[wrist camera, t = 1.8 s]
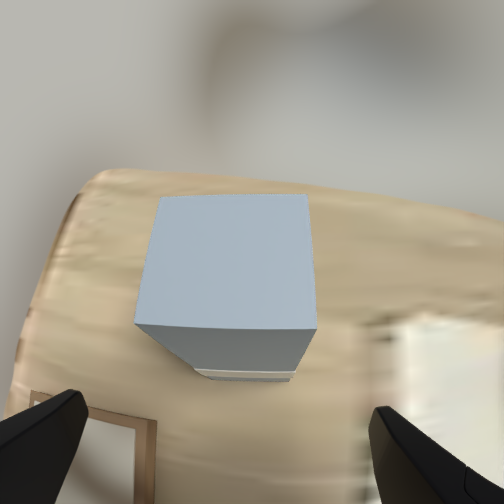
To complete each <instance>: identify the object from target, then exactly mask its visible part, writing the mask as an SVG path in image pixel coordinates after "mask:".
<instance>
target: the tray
mask: <svg viewBox="0 0 504 504" xmlns="http://www.w3.org/2000/svg"><path fill="white" fill-rule="evenodd" d="M52 397H54V396H51V395H48V394H44V393H41V392H37V391H33V390H31V394H30V404H29V408H31V407H33V406H35V405H37V404H39V403H41V402H43V401H46V400H48V399H50V398H52ZM87 407H88V410H89V415H88V419H87V422H86V425H85V428H84V431H83V434H82V437H81V440H80V443H79V446H78V449H77V452H76V454H75V457H74V459H73V461H72V464H71V466H70V468H69V471H68V473H67V475H66V478H65V480H64V483H63V485H62V487H61V490H60V492H59V495H58V497H57V500H56V502H55V504H154V483H155V451H156V432H157V421H156V420H150V419H144V418H139V417H133V416H128V415H123V414H118V413H114V412H109V411H105V410H101V409H97V408H93V407H89V406H87Z"/></svg>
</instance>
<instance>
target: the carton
mask: <svg viewBox="0 0 504 504" xmlns="http://www.w3.org/2000/svg"><path fill="white" fill-rule="evenodd" d="M134 324H135V325H136V326H138V327H139V328H140V329H142V330H143V331H144V332H145V333H147V334H148V335H149V336H151V337H152V338H153V339H155V340H156V341H157V342H159V343H160V344H161V345H163V346H164V347H165V348H167V349H168V350H169V351H171V352H172V353H174V354H175V355H176V356H178V357H179V358H181V359H182V360H183V361H185V362H186V363H188V364H189V365H191V366H192V367H194V370H196V371H197V372H199V373H200V374H202V375H203V376H207V377H208V378H210V379H211V380H229V381H264V382H289V380H290V378H292V377H293V376H294V374H295V369H296V368H297V366H298V364H299V362H300V360H301V358H302V357H303V355H304V353H305V351H306V349H307V347H308V345H309V343H310V342H311V340H312V338H313V336H314V334H315V332H316V330H317V316H316V297H315V280H314V265H313V252H312V239H311V228H310V217H309V206H308V196H307V194H235V195H199V196H175V197H160V201H159V205H158V209H157V213H156V217H155V221H154V225H153V229H152V233H151V237H150V241H149V246H148V250H147V255H146V259H145V264H144V269H143V274H142V279H141V284H140V289H139V294H138V300H137V306H136V311H135V317H134Z"/></svg>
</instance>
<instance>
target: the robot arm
mask: <svg viewBox="0 0 504 504" xmlns="http://www.w3.org/2000/svg"><path fill="white" fill-rule="evenodd" d="M88 415H89V410H88V407H87V405H86V402H85V400H84V397H83V395H82V393H81V392H80V391H77V390H73V389H68V390H66V391H64V392H62V393H60V394H58V395H56V396H54V397H52V398H50V399H48V400H46V401H43V402H41V403H39V404H37V405H35V406H33V407H31V408H29V409H27V410H24V411H22V412H20V413H18V414H16V415H14V416H12V417H9V418H7V419H5V420H3V421H1V422H0V504H55V502H56V500H57V497H58V495H59V492H60V490H61V487H62V485H63V483H64V480H65V478H66V475H67V473H68V471H69V468H70V466H71V464H72V461H73V459H74V457H75V454H76V452H77V449H78V446H79V443H80V440H81V437H82V434H83V431H84V428H85V425H86V422H87V419H88ZM368 431H369V439H370V446H371V453H372V460H373V468H374V474H375V478H376V482H377V486H378V490H379V494H380V498H381V502H382V504H504V489H503V488H501V487H499V486H497V485H496V484H494V483H492V482H491V481H489V480H487V479H486V478H484V477H483V476H481V475H480V474H478V473H477V472H475V471H474V470H473V469H471V468H470V467H468V466H466V464H464V463H463V462H462V461H460V460H459V459H457V458H456V457H455V456H453V455H452V454H451V453H449V452H448V451H447V450H445V449H444V448H443V447H441V446H440V445H439V444H438V443H436V442H435V441H434V440H432V439H431V438H430V437H428V436H427V435H426V434H424V433H423V432H422V431H421V430H419V429H418V428H417V427H415V426H414V425H413V424H411V423H410V422H409V421H408V420H406V419H405V418H404V417H403V416H401V415H400V414H399V413H397V412H396V411H395V410H394V409H392V408H391V407H390V406H380V407H376V408H375V409H374V411H373V414H372V417H371V421H370V424H369V429H368Z"/></svg>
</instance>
